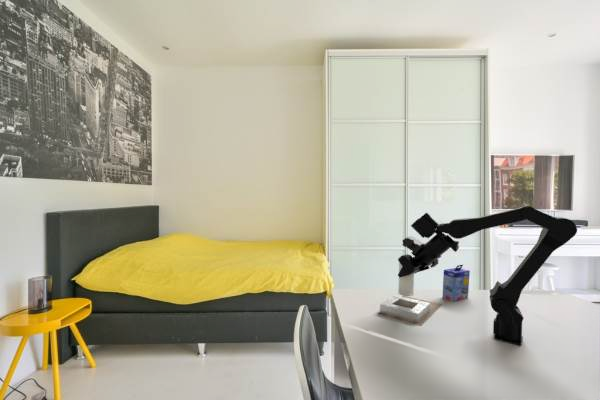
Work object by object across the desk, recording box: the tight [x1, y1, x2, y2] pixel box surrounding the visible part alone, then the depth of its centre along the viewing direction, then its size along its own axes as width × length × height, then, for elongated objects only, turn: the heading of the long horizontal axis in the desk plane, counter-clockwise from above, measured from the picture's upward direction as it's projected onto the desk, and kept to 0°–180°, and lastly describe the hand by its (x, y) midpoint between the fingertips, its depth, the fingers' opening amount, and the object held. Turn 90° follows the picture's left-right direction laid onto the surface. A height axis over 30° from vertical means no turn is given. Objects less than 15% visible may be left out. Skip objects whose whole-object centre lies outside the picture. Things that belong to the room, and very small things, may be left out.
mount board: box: [376, 295, 443, 327], centre depth 111 cm, size 15×25×1 cm, turn 141°
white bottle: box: [397, 261, 415, 297], centre depth 108 cm, size 5×5×13 cm
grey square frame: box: [379, 294, 430, 323], centre depth 108 cm, size 13×13×3 cm
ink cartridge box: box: [441, 264, 471, 302], centre depth 124 cm, size 10×6×14 cm, turn 120°
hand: (402, 274), depth 109 cm, fingers closed on white bottle, 5 cm apart
